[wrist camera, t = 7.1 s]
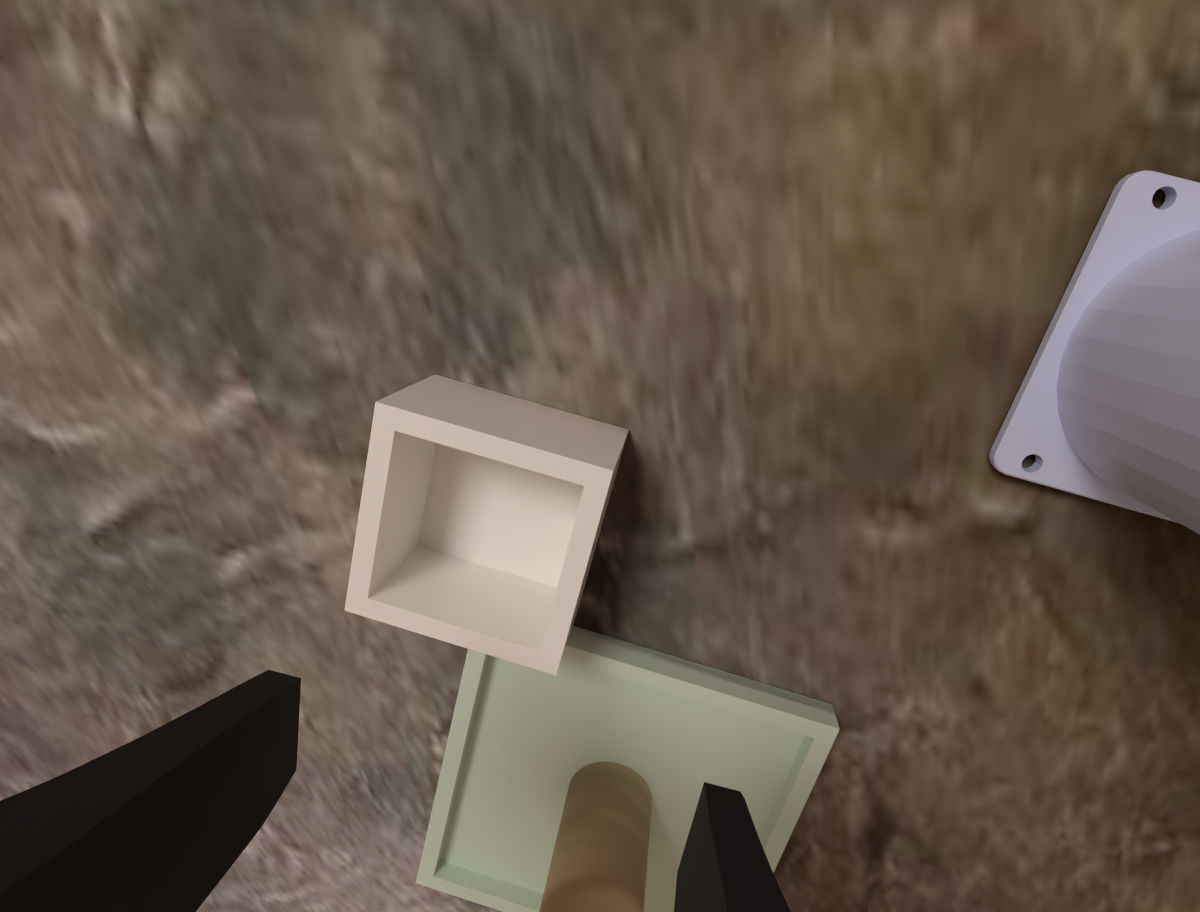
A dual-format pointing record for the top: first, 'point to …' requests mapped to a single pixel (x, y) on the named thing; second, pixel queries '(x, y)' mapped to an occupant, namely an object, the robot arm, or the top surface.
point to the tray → (609, 734)
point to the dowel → (601, 843)
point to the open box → (481, 518)
